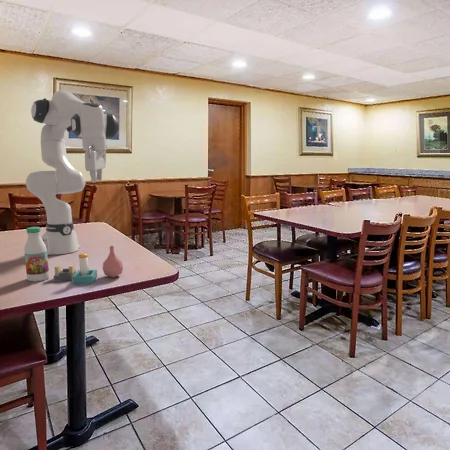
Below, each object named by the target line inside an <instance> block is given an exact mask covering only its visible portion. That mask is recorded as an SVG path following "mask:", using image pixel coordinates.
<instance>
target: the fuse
mask: <svg viewBox="0 0 450 450" xmlns="http://www.w3.org/2000/svg"><path fill="white" fill-rule="evenodd" d="M88 258H89V257H88V253H86V252H85V253H80V254H78V261H79V270H80V273H81V276H88V275H89V270H90V269H89V268H90V267H89V259H88Z"/></svg>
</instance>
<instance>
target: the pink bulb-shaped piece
mask: <svg viewBox="0 0 450 450" xmlns="http://www.w3.org/2000/svg"><path fill="white" fill-rule="evenodd" d="M108 253H109V254H108V256H107V258H106V259H105V260H104V261H103V263H102V271H103V273H104V276H108V277H110V278H116V277H117V276H119V275H121V274H122V273H123V270H124V265H123V262H122V260H121V259H120V258H119V257H118V256H117V254H116V253H115V247H114V245H110V246H109V252H108Z"/></svg>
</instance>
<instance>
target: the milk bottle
mask: <svg viewBox="0 0 450 450" xmlns="http://www.w3.org/2000/svg"><path fill="white" fill-rule="evenodd" d="M26 234H27V240H26V243H25V244H24V245H25V246H24V251H23V252H24V260H25V261H24V263H25V273H26V280H27V281H28V282H42V281H45V280H47V279H49V278H50V268H49V259H48V255H47V249H46V245H45V243H44V242H43V240H42V238H41V237H42V235H41V227H40V226H30V227H27V228H26Z"/></svg>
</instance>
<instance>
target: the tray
mask: <svg viewBox="0 0 450 450" xmlns="http://www.w3.org/2000/svg"><path fill="white" fill-rule="evenodd" d="M97 278H98V269H89V275H88V276H81V273H80V269H79V270H76V273H75V275H74V276H73V280H72V284H73V285H72V286H75V285H76V286H77V285H93V284H94V283H95V281H96V280H97Z"/></svg>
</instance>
